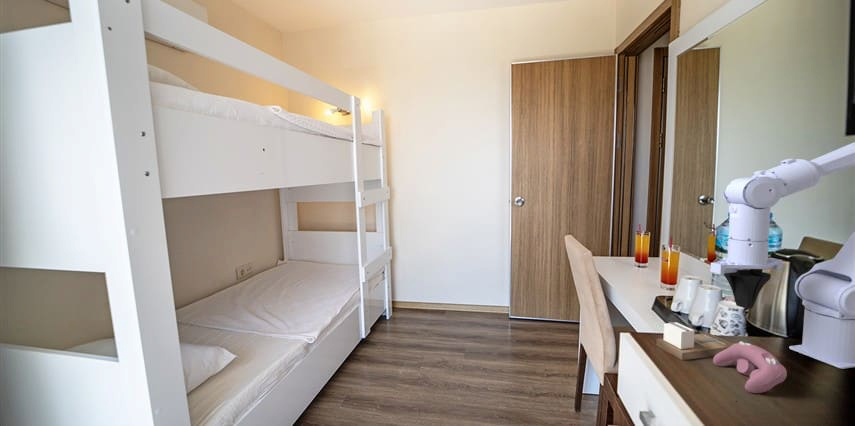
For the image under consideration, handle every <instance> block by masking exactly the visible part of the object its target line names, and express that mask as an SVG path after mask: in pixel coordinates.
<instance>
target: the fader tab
mask: <svg viewBox="0 0 855 426" xmlns="http://www.w3.org/2000/svg"><path fill="white" fill-rule="evenodd" d="M695 332H696V331H695V329H693V328H691V327H688V326H686V325H683V324H681V323H679V322H673V321H669V322H667V323H664V324H663V338H664V340H665V341H666V342H668V343H670V344H672V345H674V346H676V347H678V348H680V349H685V348H693V347H694V335H695Z"/></svg>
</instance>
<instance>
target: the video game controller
mask: <svg viewBox="0 0 855 426" xmlns="http://www.w3.org/2000/svg"><path fill="white" fill-rule="evenodd" d="M712 362H713V364H714V365H715V366H716V367H727V366H731V365H734V364H737V365H736V370H737V371H738V372H739V373H741V374H743V375H744V376H748V377H749V378H748V380H747V381H746V382H745V384H744V388H745V390H746V391H747V393H749V394H761V393H765V392H767V391H770V390H771V389H773V388H774V387H775V386H777V385H779V384H781V383H783V382H784V381H785V380H786V378H787V376H788V375H787V374H788V372H787V369H786V367H784V365H782V364H781V363H780V361H779V360H778V359H777V358H776V357H775V356H774V355H773V354H772V353H770V352H769V351H767V350H766V349H764V348H762V347H760V346H757V345H756V344H752V343H748V342H743V341H739V342H736V343H733V345H732V346H730V347H729V348H727V349H725V350H723V351H721V352H719V353H718V354H716V355H715V356H713V359H712ZM755 366H756V367H757V369H755Z"/></svg>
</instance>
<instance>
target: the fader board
mask: <svg viewBox="0 0 855 426" xmlns="http://www.w3.org/2000/svg"><path fill="white" fill-rule="evenodd" d="M655 342H656V345H655V346H656V347H657V346H658V347H657V348H659V349H661V350H663V351H664V352H666V353H668V354H670V355H672V356H674V357H675V358H677V359H679V360H680V361H686V360H695V359H702V358H709V357H714V356H715V355H716V354H718V353H719V352H721V351H723V350H725V349H727V348H729V347H730V346H732V345H733V344H734V343H733V342H731V341H729V340H726V339H724V338H722V337H719V336H716V335H715V334H712V333H710V332H704V333H697V334H696V333H694V347H693V348H685V349H680V348H678V347H676V346H674V345H672V344H670V343H668V342H666V341H665V340H664V337H663V338H656V341H655Z"/></svg>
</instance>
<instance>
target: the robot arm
mask: <svg viewBox="0 0 855 426" xmlns="http://www.w3.org/2000/svg"><path fill="white" fill-rule="evenodd" d="M852 167H855V141H854V142H852V143H849V144H846V145H844V146H842V147H840V148H839V147H838V148H837V149H835V150H832V151H830V152H828V153H826V154H823V155H821V156H819V157H816V158H813V159H811V160H808V159H807V160H806V159H801V158H797V159H795V158H787V159H786V158H785V159H784V160H781V161H780V165H777V166H774V167H772V168H771V167H770V168H769V169H767V170H763V169H762V170H757V171H754V172H753V174H754V175H752V176H751V177H738V178H736V179H733V180H731V181H730V183H729V184H727V186H726V189H725V190H724V191H723V192H722V198H723V200H724V202H725V203H727V205H728V212H729V217H728V219H729V220H728V222H729V223H728V237H727V238H728V239H727V241H728V242H727V256H725V257H722V260H718V261H715V262H710V270H709V271H710V273H713V274H715V275H716V274H717V275H723V276H724V277H725V279H726V280H727V283H728V284H729V286H730V289H731V291H732V295H733V299H734V302H735V305H736V306H737V307H740V308H743V309H747V310H748V309H750V310H751V309H753V308H754V305H755V303H756V301H757V300H758V296H759V294H760V293H761V291H762V289H763V288H764V286H765V285H766V284H767V283H768V281H770V280H771V275H772V274H771V273H769V272H764V271H766V270H775V271H776V270H777V271H778V270H779V271H780V270H782V269H783V259H779V258H773V257H768V256H769V239H770V237H769V236H770V235H769V234H770V224H771V223H770V221H771V207H774V206H775V205H777V203H779V201H780V199H782V198H784V197H787V196H791V195H794V194H796V193H799V192H801V191H804V190H807V189H810V188H814V187H815V186H817V185H818V183H819V182H820V180H821V177H825V176H827V175H829V174H833V173H837V172H840V171H844V170H846V169H849V168H852ZM794 291H795V293H796V295H797V296H798V297H799V298H800V299H801V300H802V302H801V304H802V305H803V307H804V313H803V314H804V316H803V329H802V330H803V331H802V342H801V344H796V345H789V349H790V350H792V351H794V352H798V353H799V354H802V355H805V356H807V357H810V358H812V359H815V360H817V361H820V362H823V363H824V364H828V365H830V366H834V367H835V368H837V369H843V370H844V369H850V368H855V230H854V231H853V232H852V234H851V235H850V237H849V238H848V239H847V240H846V241H845V243H844V244H843V246H842V247H841V248H840V250H839V251H838V252H837V254H836V255H835V256H834V257H833V258H831V259H828V260H824V261H821V262H818V263H815V264H814V265H813V267H812V268H811V269H810V270H809V271H807V272H805V273H803V274H801V275H800V276H799V277H798V278H797V279H796V280H795V283H794Z"/></svg>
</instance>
